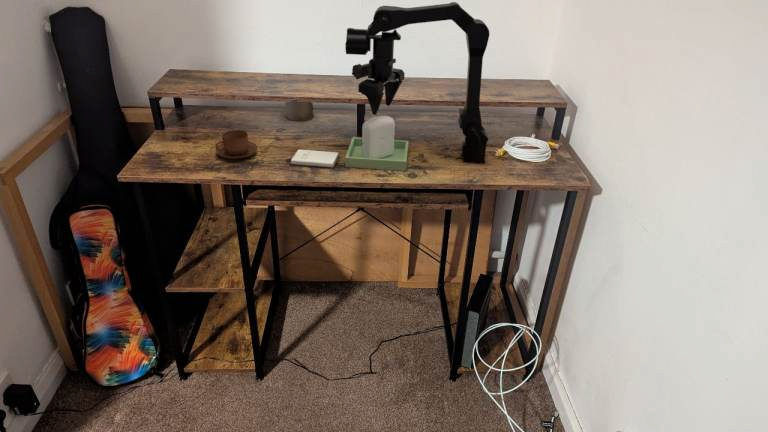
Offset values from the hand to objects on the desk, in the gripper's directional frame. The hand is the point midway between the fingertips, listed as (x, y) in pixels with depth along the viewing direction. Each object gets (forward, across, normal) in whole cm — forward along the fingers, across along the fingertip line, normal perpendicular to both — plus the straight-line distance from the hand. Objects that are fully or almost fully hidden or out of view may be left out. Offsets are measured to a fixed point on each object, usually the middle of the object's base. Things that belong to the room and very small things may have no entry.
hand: (381, 109), depth 150 cm
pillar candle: (+14, -16, -39) cm, 45 cm away
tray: (+14, +3, 0) cm, 14 cm away
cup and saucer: (+14, +21, -38) cm, 45 cm away
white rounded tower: (+14, +3, 0) cm, 14 cm away
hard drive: (+14, +14, -15) cm, 25 cm away
